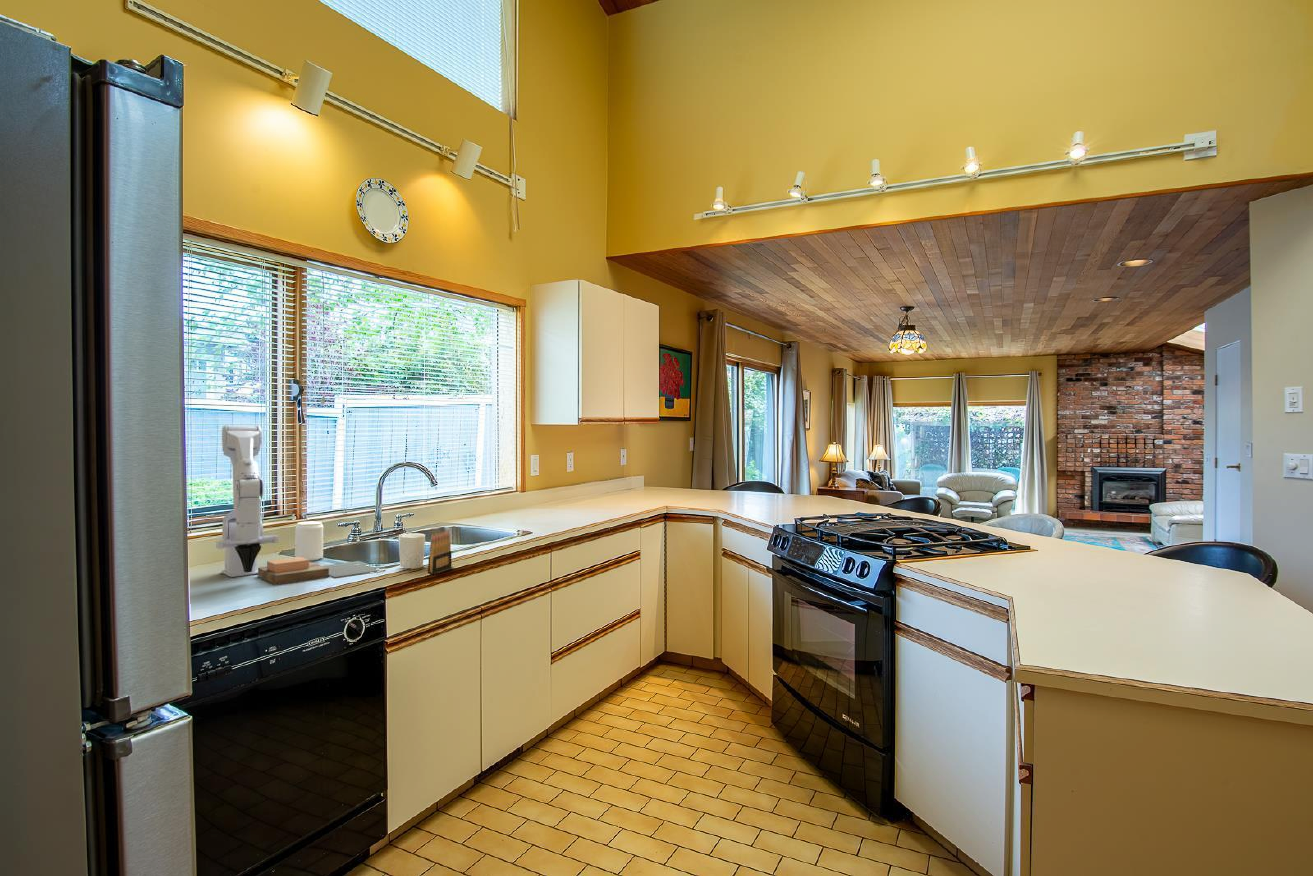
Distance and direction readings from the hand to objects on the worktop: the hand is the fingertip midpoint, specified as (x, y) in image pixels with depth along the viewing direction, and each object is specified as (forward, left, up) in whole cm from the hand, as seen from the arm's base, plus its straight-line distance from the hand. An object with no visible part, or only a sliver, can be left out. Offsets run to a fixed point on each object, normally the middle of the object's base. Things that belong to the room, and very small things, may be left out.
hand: (247, 571), depth 181 cm
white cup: (+10, +43, -3) cm, 44 cm away
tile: (0, +10, 0) cm, 10 cm away
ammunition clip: (+20, +47, -3) cm, 51 cm away
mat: (+1, +27, -3) cm, 27 cm away
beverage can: (-23, +25, -3) cm, 34 cm away
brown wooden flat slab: (0, +12, -3) cm, 12 cm away
